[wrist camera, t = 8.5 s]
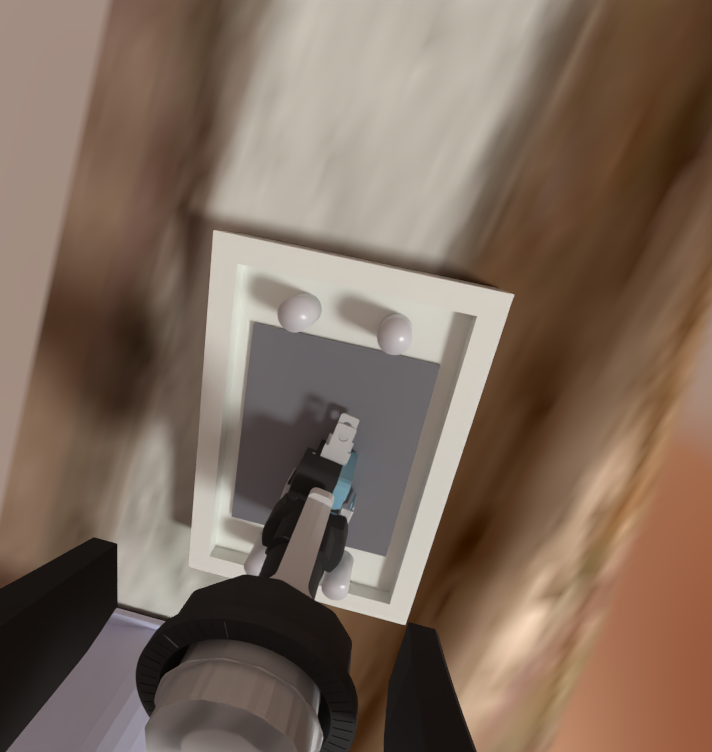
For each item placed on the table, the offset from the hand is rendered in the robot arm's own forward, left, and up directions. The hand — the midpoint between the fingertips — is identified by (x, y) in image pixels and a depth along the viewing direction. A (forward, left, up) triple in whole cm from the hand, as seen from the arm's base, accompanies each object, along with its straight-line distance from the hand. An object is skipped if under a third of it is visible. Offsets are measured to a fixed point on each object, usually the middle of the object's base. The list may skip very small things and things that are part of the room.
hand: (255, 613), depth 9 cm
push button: (0, -1, -8) cm, 8 cm away
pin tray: (0, 0, -10) cm, 10 cm away
